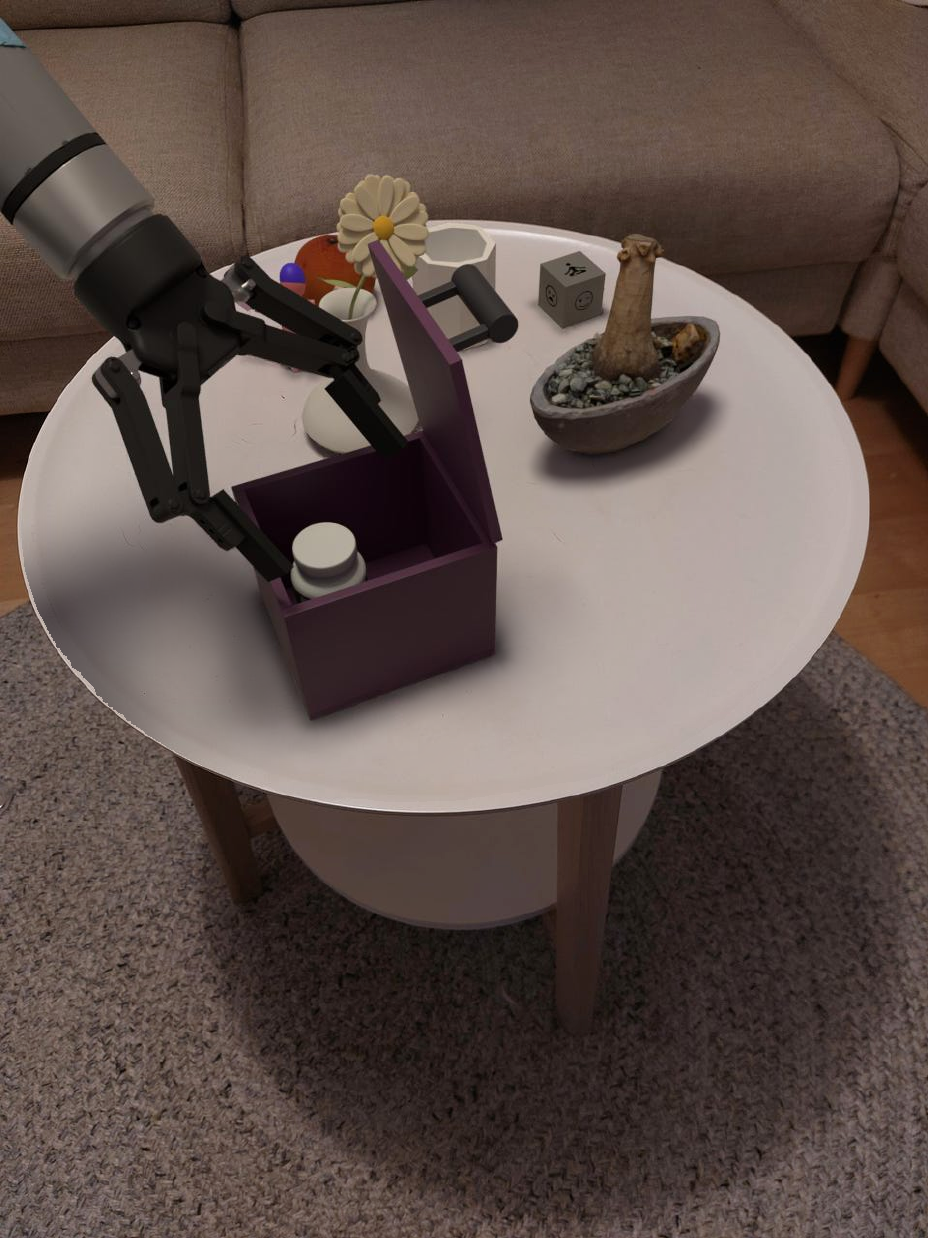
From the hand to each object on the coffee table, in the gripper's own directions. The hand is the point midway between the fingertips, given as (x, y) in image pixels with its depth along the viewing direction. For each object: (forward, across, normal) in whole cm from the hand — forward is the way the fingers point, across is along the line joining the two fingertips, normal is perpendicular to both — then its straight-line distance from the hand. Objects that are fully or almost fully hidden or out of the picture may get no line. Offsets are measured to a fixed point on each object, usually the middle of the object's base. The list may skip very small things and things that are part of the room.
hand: (342, 510), depth 67 cm
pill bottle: (+9, 0, -12) cm, 15 cm away
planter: (+16, -34, -6) cm, 38 cm away
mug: (-1, -42, -23) cm, 48 cm away
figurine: (-8, -27, -30) cm, 41 cm away
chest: (+11, -2, -12) cm, 16 cm away
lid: (-2, -7, +6) cm, 10 cm away
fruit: (-9, -38, -32) cm, 51 cm away
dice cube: (+7, -50, -16) cm, 53 cm away
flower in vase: (+1, -23, -22) cm, 31 cm away
